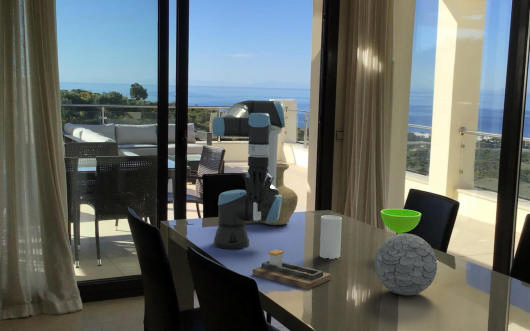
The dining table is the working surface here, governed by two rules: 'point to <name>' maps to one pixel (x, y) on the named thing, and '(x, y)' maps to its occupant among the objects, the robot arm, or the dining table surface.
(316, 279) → the wooden tray
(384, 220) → the wineglass
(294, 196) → the vase
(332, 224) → the cup
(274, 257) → the fader knob
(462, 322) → the dining table surface
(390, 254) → the decorative sphere
